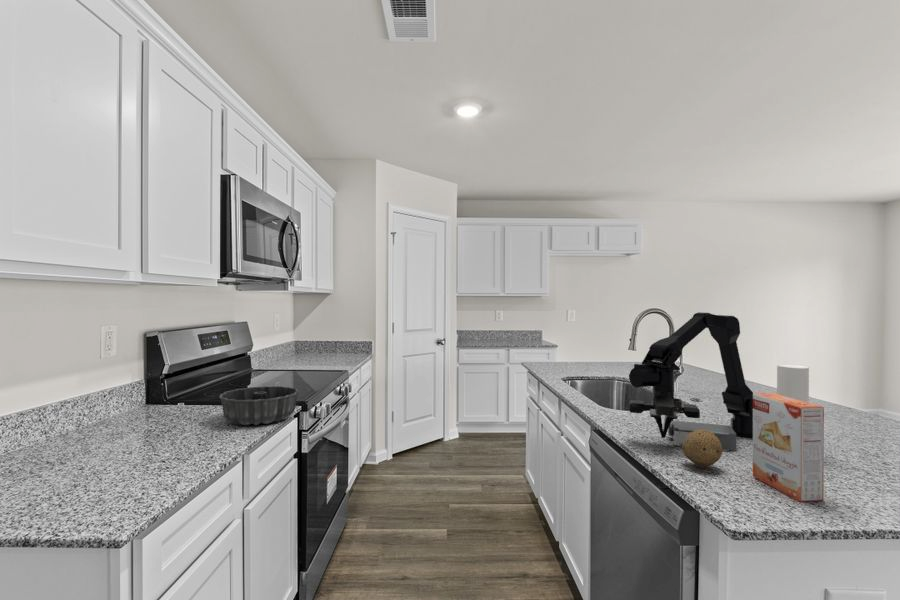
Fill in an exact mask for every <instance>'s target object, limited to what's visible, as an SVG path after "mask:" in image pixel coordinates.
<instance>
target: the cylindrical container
mask: <svg viewBox="0 0 900 600" xmlns="http://www.w3.org/2000/svg"><path fill="white" fill-rule="evenodd" d="M809 383H810V367H808V366H806V365H799V364H797V365H796V364H786V363H785V364H777V365H776V394H779V395H783V396H786V397H790V398H793V399H797V400H800V401H804V402H808V403H810V399H809V397H810V394H809V393H810V384H809Z"/></svg>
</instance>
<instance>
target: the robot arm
mask: <svg viewBox="0 0 900 600" xmlns="http://www.w3.org/2000/svg"><path fill="white" fill-rule="evenodd" d="M740 327H741V325H740V320H739V319H738V317H735V315H722V314H721V315H720V314H715V313H710V312H700V311H699V312H695V313H694V314H693V316H692V317H691V318H690V319H688V320H687V321H686V322H685V323H684V324H682V326H681V327H679V328H678V329H677V330H676V331H674V332H673V333H672V334H670V335H669V336H668V337H665V338H661V339H659V340H656V341H655V342H654V343H652V344H651V345H650V346H649V350H648V351H647V353H646V355H645V356H644V358H643V360H642V362H641V363H634V364H633V368H632V369H631V370H630V372H629V374H628V379H629V382H630V384H631V386H633V387H634V388H648V387H652V403H651V404H650V403H644V400H640V399H639V400H636V399H630V401H629V413H631V414H632V413H633V414H642V413H643V412H644V411H649V416H650V417H651V418H653V419H654V421H655V422H656V424H657V427H658V431H659V433H660V436H661V438H663V439H665V438H666V435H667V433H668V428H669V426H670V424H672V421H674V420H677V419H678V414H683V415H685V416H686V417H687V418H690V419H700V418H701V416H700V413H701V411H700V409H699V407H698V406H697V404H691V403H690V404H689V403H683V402H682V398H674V397H675V371H680V369H681V368H680V366H678V365H677V364H676V361H678V359H679V358H680V357H681V356H682V354H683V349H684V348H685V347H686V345H688V344H689V343H690V342H691V341H693V339H695V338H696V337H697V336H698V335H699V334H701V333H702V332H703V331H704V330H705V329H707V330H708V332H709V334H710V336H711V337H712V339H713V340H715V341H716V343H717V344H718V348H719V353H720V358H721V362H722V367H723V371H724V376H725V380H726V385H727V386H726V388H725V390H724V391H722V392H721V396H722V399H723V402H722V403H723V404H724V406H725V407H726V410H727V411H726V412H727V413H728V414H732V417H730V426H731V428H732V429H733V430H734V432H735V433H736V437H743V438H753V394H754V392H753V391H752V390H751V388H749V386H748V385H747V384H746V380H745V375H744V372H743V365H742V362H741V357H740V354H739V353H740V352H739V347H738V343H737V341H738V338H739V336H740V335H741V328H740ZM682 403H683V404H682ZM662 416H664V419H663V422H662Z"/></svg>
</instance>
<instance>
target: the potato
mask: <svg viewBox="0 0 900 600" xmlns="http://www.w3.org/2000/svg"><path fill="white" fill-rule="evenodd" d="M681 451H682V454H683V455H684V457H685V458H686V459H687V460H689V461H690V462H691V463H692V464H693V465H695V466H696V467H699V468H700V469H706V468H709V467H711V466H713V465H714V464H716V463H717V462H718V461H719V460H720V459H721V458H722V456H723V451H722V445H721V443H720V441H719V439H718V438H717V437H716V436H715V435H714V434H713V433H712V432H710V431H707V430H703V429H698V430H695V431H693V432H691V433H690V434H689V435H688V436H687V438H686V440H685V442H684V443H683V446H681Z"/></svg>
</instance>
